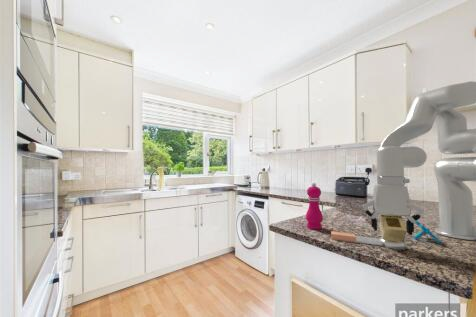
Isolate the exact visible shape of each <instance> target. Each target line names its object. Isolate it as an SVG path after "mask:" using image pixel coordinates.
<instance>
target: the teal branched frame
mask: <svg viewBox="0 0 476 317" xmlns="http://www.w3.org/2000/svg"><path fill="white" fill-rule="evenodd" d="M414 224H416V225H417V226H419V227H420V228H419V230H418V231H419V232H417V233H415V234H414V236H413V238H414V240H418V239H419V238H420V237H422V236H426V235H428V236H430V237H431V238H432V239H434V240H435V241H436V243H438V244H440V243H442V241H441V240H440V239H439V238H438V237H436V236H435V235H434V234H433V233H432V231H431V230H430V228H429V227H425V226H424V225H423V224H421V223H420V222H419V221H418V220H417V221H415V223H414Z"/></svg>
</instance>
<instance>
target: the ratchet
mask: <svg viewBox="0 0 476 317" xmlns="http://www.w3.org/2000/svg"><path fill="white" fill-rule="evenodd" d="M330 235H331V236H330V237H331V240H333V241H334V240H336V241H343V242H350V243H357V244H359V243H360V244H366V245H371V246H372V245H373V246H380V247H383V248H386V249H390V250H396V251H404V250H406V241H404V242H397V241H389V240H382V236H379V238H376V237H369V236H362V235H356V234H355V233H350V232H341V231H334V230H331V233H330Z"/></svg>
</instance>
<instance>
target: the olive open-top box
mask: <svg viewBox="0 0 476 317" xmlns="http://www.w3.org/2000/svg"><path fill="white" fill-rule="evenodd" d="M405 225H406V224H405V222H404V219H403V216H395V215H384V214H380V218H379V223H378V226H379V230H380V231H379V232H380V235H381V236H380V237H382V240H389V241H397V242H405V239H406V235H407V230H406V226H405Z"/></svg>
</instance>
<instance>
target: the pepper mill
mask: <svg viewBox="0 0 476 317" xmlns="http://www.w3.org/2000/svg"><path fill="white" fill-rule="evenodd" d="M306 194H307V196H308V199H307V201H308V204H309V205H308V208H307V211H306V213H305V220H306V221H307V222H306V228H307V229H309V230H316V231H317V230H322V227H323V224H322V222H323V220H324V217H323V213H322V211H321V209H320V201H321V200H320V199H321V197H320V196H321V195H322V190H321V189H320V187H318V186H317V184H316V183H315V182H312V184H311V186H309V187H308V188H307V190H306Z"/></svg>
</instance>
